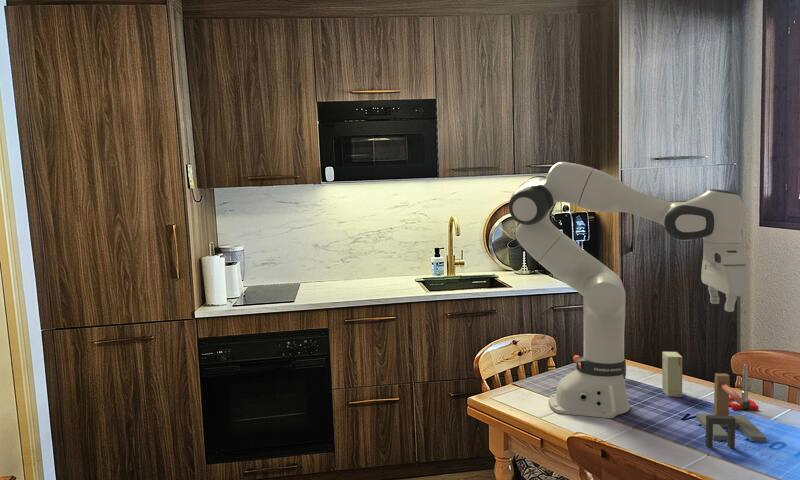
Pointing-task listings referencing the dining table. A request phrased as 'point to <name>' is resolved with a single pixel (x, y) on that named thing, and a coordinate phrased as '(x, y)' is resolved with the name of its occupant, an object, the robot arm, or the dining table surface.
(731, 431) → the bight
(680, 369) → the skincare box
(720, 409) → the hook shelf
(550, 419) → the dining table surface
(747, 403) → the tow hook
